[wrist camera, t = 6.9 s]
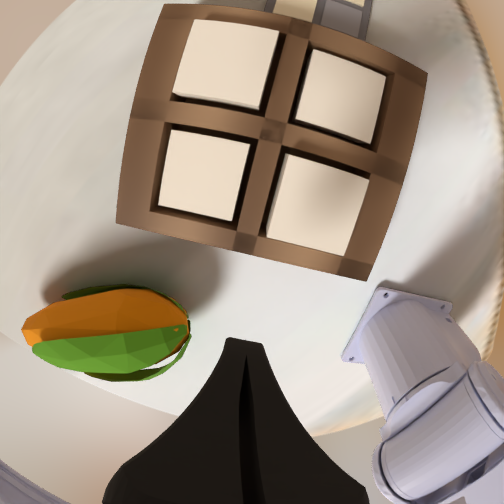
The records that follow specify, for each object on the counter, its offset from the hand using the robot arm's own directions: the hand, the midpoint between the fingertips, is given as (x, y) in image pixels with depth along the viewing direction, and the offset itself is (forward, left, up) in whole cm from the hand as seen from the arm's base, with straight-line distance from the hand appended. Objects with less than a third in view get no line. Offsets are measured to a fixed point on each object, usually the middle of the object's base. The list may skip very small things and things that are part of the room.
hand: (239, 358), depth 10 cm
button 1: (-3, -5, -8) cm, 10 cm away
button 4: (+4, -12, -8) cm, 15 cm away
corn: (+12, +9, -11) cm, 19 cm away
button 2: (-3, -12, -9) cm, 15 cm away
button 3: (+4, -5, -9) cm, 11 cm away
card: (0, -20, -10) cm, 22 cm away
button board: (+1, -8, -10) cm, 13 cm away
